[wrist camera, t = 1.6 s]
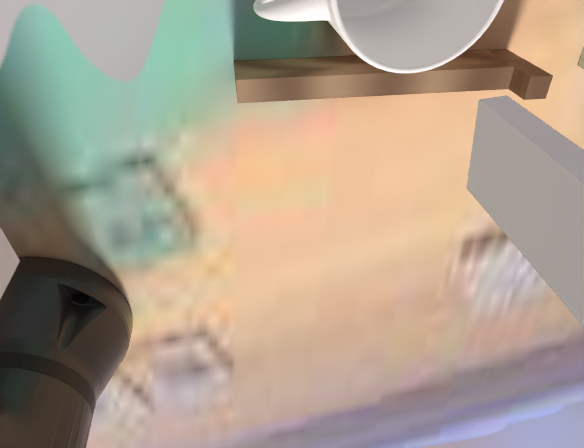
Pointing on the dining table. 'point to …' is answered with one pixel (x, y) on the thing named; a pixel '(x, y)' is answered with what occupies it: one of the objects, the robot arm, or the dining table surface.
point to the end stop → (581, 60)
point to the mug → (395, 27)
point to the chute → (385, 77)
